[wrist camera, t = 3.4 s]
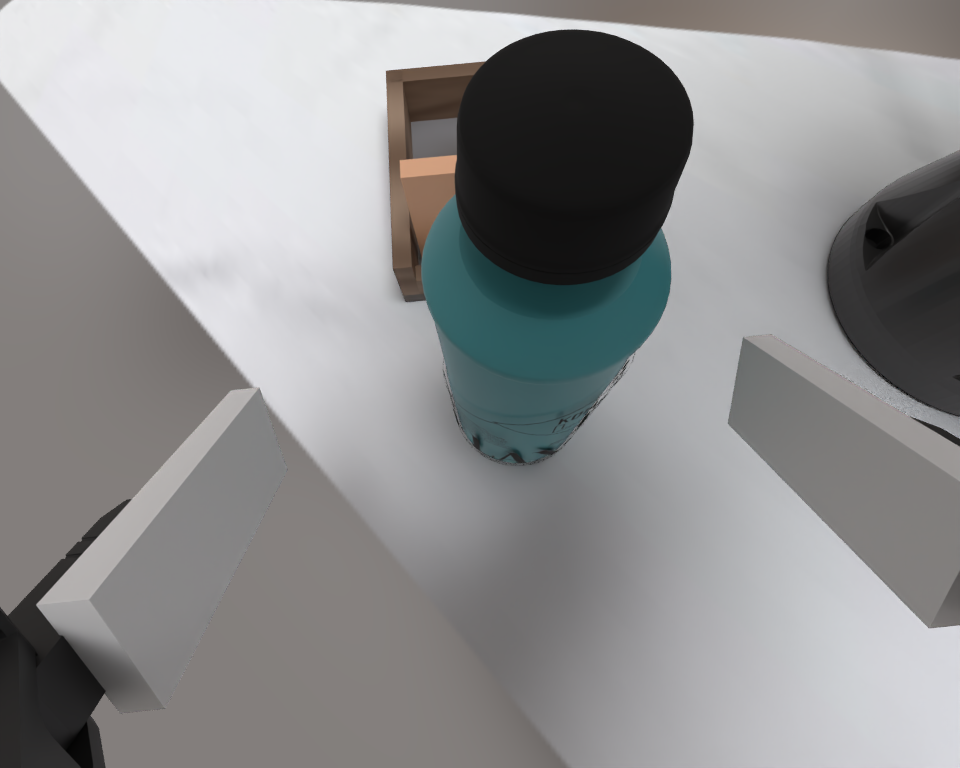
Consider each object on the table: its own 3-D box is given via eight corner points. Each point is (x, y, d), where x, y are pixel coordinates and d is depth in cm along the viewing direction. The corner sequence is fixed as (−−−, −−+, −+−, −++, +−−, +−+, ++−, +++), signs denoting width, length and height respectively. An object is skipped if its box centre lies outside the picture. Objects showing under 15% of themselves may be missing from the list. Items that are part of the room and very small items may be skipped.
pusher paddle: (579, 247, 28) (605, 159, 21) (422, 261, 28) (400, 177, 21) (576, 232, 28) (601, 141, 22) (421, 247, 28) (399, 160, 22)
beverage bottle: (436, 436, 26) (279, 182, 7) (493, 338, 28) (489, -83, 9) (542, 493, 25) (696, 378, 6) (594, 388, 27) (846, 31, 8)
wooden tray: (602, 283, 29) (617, 248, 25) (405, 301, 29) (392, 268, 25) (569, 105, 33) (578, 52, 29) (398, 121, 33) (385, 70, 29)
